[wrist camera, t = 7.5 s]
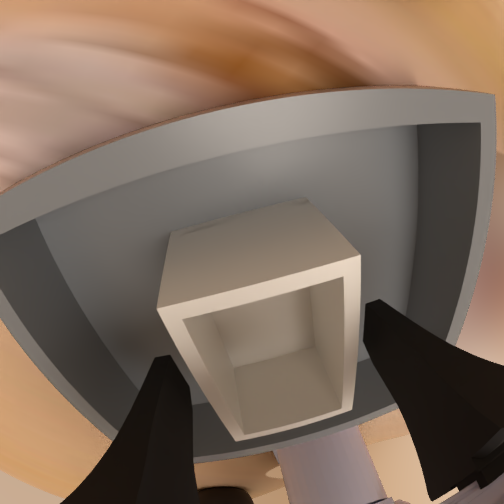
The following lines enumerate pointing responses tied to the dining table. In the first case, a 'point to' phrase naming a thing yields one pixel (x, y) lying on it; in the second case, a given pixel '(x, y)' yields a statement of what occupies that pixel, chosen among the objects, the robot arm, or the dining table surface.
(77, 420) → the dining table surface
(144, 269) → the big crate
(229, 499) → the cola bottle
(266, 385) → the small crate
